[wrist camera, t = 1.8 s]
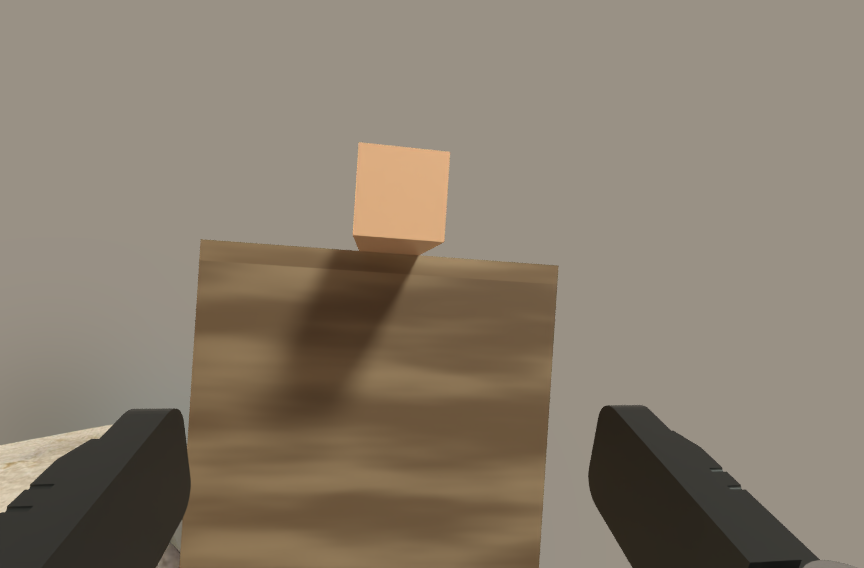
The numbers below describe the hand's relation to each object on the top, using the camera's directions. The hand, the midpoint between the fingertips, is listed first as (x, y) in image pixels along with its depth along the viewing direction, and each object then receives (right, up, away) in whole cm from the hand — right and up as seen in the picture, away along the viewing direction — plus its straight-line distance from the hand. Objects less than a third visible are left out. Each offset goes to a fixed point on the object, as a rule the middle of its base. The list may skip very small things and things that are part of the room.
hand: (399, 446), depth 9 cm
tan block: (-2, +5, +16) cm, 17 cm away
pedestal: (-5, -27, +22) cm, 35 cm away
